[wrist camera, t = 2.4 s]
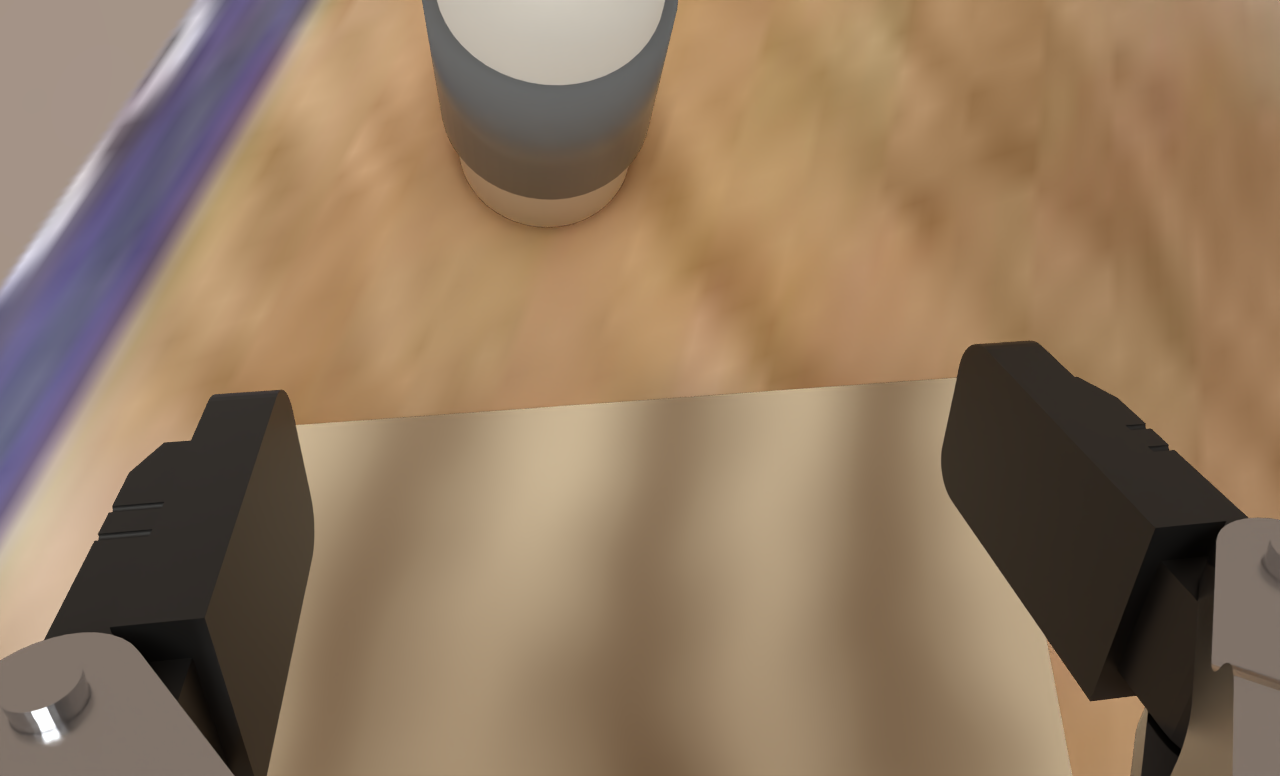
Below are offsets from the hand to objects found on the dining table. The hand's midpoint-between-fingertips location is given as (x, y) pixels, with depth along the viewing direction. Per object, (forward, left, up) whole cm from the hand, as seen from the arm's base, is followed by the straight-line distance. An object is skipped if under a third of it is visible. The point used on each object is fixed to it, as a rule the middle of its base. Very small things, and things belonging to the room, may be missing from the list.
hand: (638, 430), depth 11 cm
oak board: (-2, +2, -14) cm, 15 cm away
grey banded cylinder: (0, -11, -14) cm, 18 cm away
